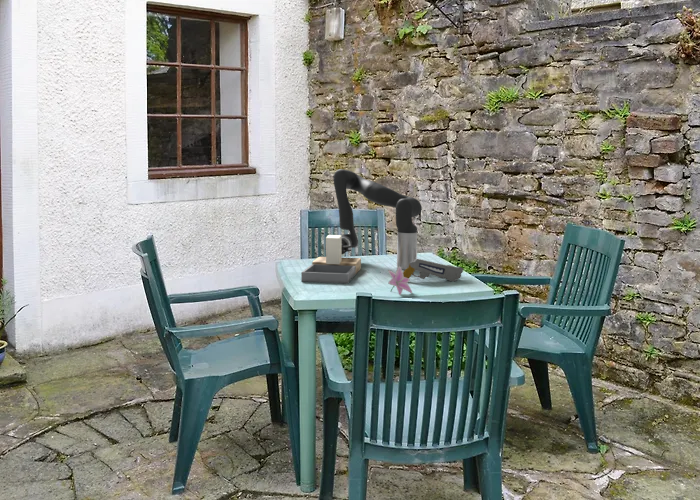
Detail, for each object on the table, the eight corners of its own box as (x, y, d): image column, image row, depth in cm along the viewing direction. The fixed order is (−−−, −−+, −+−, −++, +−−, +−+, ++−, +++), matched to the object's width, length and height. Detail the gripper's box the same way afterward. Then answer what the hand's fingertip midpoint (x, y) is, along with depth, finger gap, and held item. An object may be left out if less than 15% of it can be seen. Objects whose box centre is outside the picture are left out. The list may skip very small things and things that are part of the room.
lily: (383, 298, 292) (393, 278, 288) (375, 281, 302) (386, 262, 298) (409, 305, 297) (420, 286, 293) (401, 288, 307) (412, 270, 303)
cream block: (341, 260, 341) (341, 235, 338) (339, 264, 335) (339, 238, 332) (328, 260, 342) (328, 234, 339) (326, 263, 336) (325, 237, 333)
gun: (451, 301, 325) (464, 269, 324) (400, 281, 319) (413, 248, 318) (449, 299, 328) (462, 268, 327) (398, 279, 323) (411, 247, 322)
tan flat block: (360, 268, 353) (361, 258, 352) (355, 274, 337) (355, 263, 336) (319, 267, 356) (319, 256, 355) (312, 272, 340) (312, 261, 340)
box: (355, 274, 337) (355, 265, 336) (347, 283, 316) (348, 274, 315) (311, 272, 340) (312, 264, 339) (301, 281, 319) (301, 272, 318)
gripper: (328, 237, 358) (320, 241, 341) (355, 238, 356) (349, 242, 339) (327, 252, 359) (320, 258, 342) (355, 253, 357) (349, 259, 340)
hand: (335, 250), depth 340 cm, fingers closed
